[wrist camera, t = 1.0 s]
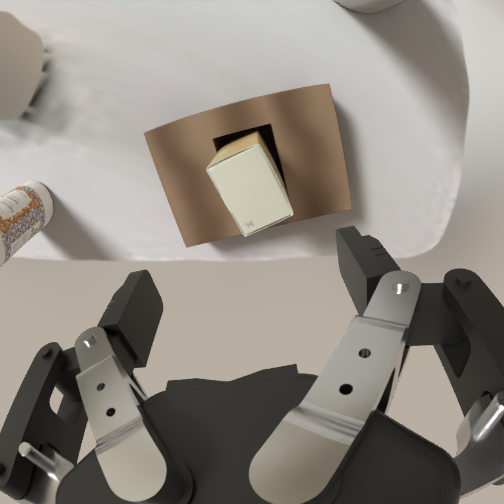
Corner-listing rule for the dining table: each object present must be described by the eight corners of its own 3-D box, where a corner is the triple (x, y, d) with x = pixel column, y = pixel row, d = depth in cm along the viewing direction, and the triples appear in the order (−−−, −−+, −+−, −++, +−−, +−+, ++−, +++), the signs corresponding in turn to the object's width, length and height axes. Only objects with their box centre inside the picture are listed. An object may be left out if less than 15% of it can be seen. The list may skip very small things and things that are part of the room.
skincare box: (282, 175, 33) (297, 218, 22) (247, 191, 34) (245, 242, 23) (256, 124, 30) (260, 141, 19) (220, 142, 31) (203, 169, 20)
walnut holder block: (318, 84, 28) (329, 83, 24) (340, 194, 34) (351, 208, 30) (157, 127, 30) (143, 132, 26) (193, 229, 36) (186, 247, 32)
